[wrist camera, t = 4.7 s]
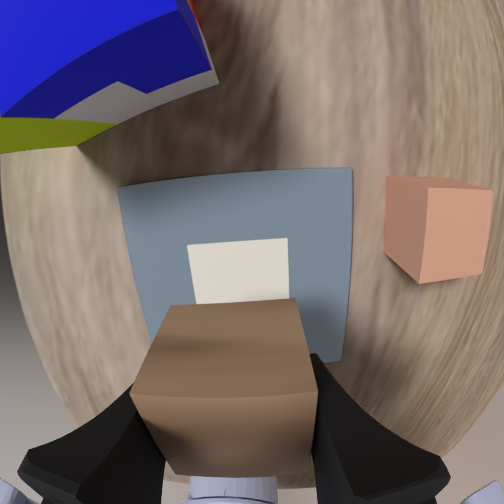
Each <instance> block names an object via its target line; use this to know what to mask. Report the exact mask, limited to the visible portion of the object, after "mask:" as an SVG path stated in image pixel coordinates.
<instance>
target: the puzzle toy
mask: <svg viewBox="0 0 504 504" xmlns="http://www.w3.org/2000/svg"><path fill="white" fill-rule="evenodd" d="M218 84H219V81H218V78H217V75H216V72H215V68H214V65H213V62H212V59H211V56H210V53H209V50H208V47H207V44H206V41H205V38H204V35H203V32H202V29H201V26H200V23H199V20H198V17H197V14H196V11H195V8H194V5H193V2H192V0H0V154H4V153H10V152H18V151H26V150H35V149H45V148H56V147H69V146H77V145H79V144H81V143H83V142H84V141H86V140H88V139H90V138H92V137H94V136H96V135H97V134H99V133H101V132H103V131H105V130H107V129H109V128H111V127H113V126H115V125H117V124H119V123H121V122H123V121H125V120H128V119H130V118H132V117H134V116H136V115H139V114H141V113H143V112H145V111H148V110H150V109H152V108H155V107H157V106H160V105H162V104H165V103H167V102H170V101H172V100H175V99H177V98H180V97H183V96H186V95H188V94H191V93H194V92H197V91H200V90H203V89H206V88H209V87H212V86H215V85H218Z"/></svg>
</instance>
